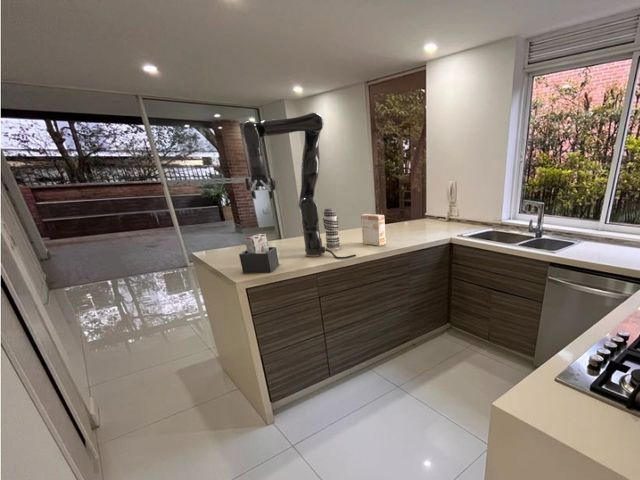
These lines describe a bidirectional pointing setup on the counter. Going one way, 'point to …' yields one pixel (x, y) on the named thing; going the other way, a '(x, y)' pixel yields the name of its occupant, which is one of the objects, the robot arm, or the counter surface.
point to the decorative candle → (331, 229)
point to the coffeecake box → (373, 229)
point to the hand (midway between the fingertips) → (263, 198)
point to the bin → (259, 261)
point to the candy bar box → (257, 244)
